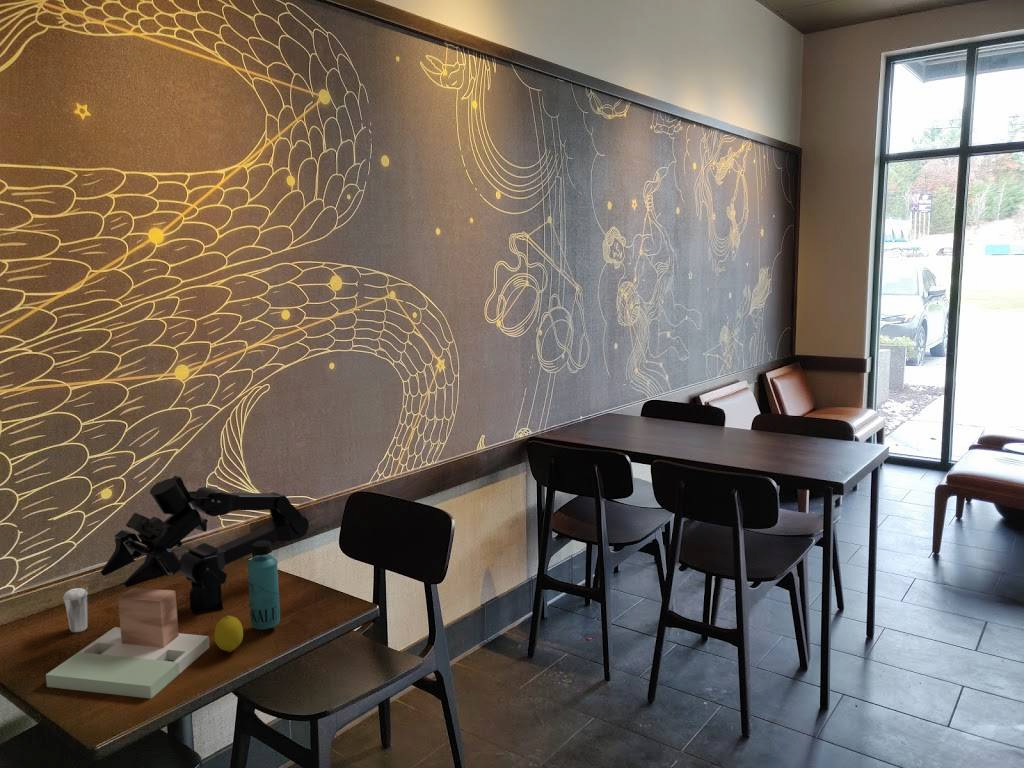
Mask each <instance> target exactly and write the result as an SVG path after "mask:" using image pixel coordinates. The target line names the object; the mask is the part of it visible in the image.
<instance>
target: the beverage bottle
mask: <svg viewBox="0 0 1024 768" xmlns="http://www.w3.org/2000/svg"><path fill="white" fill-rule="evenodd" d="M272 552H273V547H272V544H271V542H270V541H257V542H255V543H253V544H252V553H251V554H252V555H253V557H252V558H251V559H250V560H249V561H248V562H247V563H246V564H247V586H248V597H249V598H248V602H249V606H248V607H249V611H248V612H249V619H250V620H249V621H250V624H251V627H252V628H253V629H256V630H266V629H271V628H273V627H276V626H278V625H279V623H280V620H281V615H282V614H281V609H280V608H281V603H280V599H281V597H280V592H279V590H280V589H279V573H278V572H279V570H278V560H277V558H276V557H275V556H273V555H271V553H272Z"/></svg>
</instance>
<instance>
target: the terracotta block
mask: <svg viewBox="0 0 1024 768" xmlns="http://www.w3.org/2000/svg"><path fill="white" fill-rule="evenodd" d="M117 604H118V616H119V628H121V640H122V644H131V645H141V646H151V647H161V648H164V647H165V646H167V645H168V644H169V643H170V642H172V641H173V640H174V639H175V638H177V637H178V636H179V633H180V632H179V622H178V621H179V620H178V608H177V607H178V606H177V595H176V590H171V589H160V588H159V589H158V588H146V587H138V586H137V587H136V586H135V587H132V588H131V589H129V590H128V591H126V592H124V593H123V594H121V595H120V596H118V597H117Z"/></svg>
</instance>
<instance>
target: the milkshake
mask: <svg viewBox="0 0 1024 768" xmlns="http://www.w3.org/2000/svg"><path fill="white" fill-rule="evenodd" d="M88 588H89V586H87V587H86V588H85V589H84V588H82V587H79V588H78V587H76V588H70V589H69V590H67V591H65V593H64V595H63V602H64V606H65V610H66V615H67V620H68V626H69V630H70V632H71V633H80V632H83V631H85V630H86V629H87V628H88Z"/></svg>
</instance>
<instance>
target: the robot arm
mask: <svg viewBox="0 0 1024 768" xmlns="http://www.w3.org/2000/svg"><path fill="white" fill-rule="evenodd" d="M149 494H150V496H151V497H152V498H153V500H154V501H155V503H156V504H157V506H158V508H159V509H160V510H161V512H162V513H163V514H164V515H170V516H168V518H166V519H165V520H162V519H161V518H158V517H156V516H152V517H150V518H149V517H146V516H145V515H142V514H140V513H137V512H134V513H133V514H132V515H131V517H130V518H129V520H128V521H127V523H125V526H126V527H127V528H129V529H130V528H131V529H132V530H133V531H135V532H138V534H136V533H134V532H133V531H129V530H126V529H125V530H124V529H123V530H122V529H121V530H119V532H117V533H116V534H115V535H113V536H114V543H115V547H114V548H115V549H114V551H113V554H112V555H111V556H110V558H109V559H108V561H107V562H106V564H105V565H104V566H103V568H102V569H101V570H100V574H101V575H102V576H104V577H105V576H107V575H109V574H112V573H113V572H116V571H118V570H120V569H121V568H124V567H126V566H129V564H131V563H133V562H135V561H136V559H137V558H140V557H141V556H143V555H144V556H145V559H144V563H142V564H141V566H140V567H138V568H137V569H136V570H135V571H134V572H133V573H132V574H131V575H130V576H129V577H128V578H127V579H126V580H125V582H124V583H123V585H124V587H126V588H129V587H132V586H135V585H138V584H141V583H144V582H147V581H152V580H154V579H159V578H162V577H168V576H169V575H171V576H174V575H175V574H177V573H178V572H179V573H180V574H181V575H183V576H184V577H185V578H186V581H190V583H191V587H189V588H188V593H189V595H188V596H189V607H190V608H189V609H190V610H192V614H193V615H198V614H203V613H209V612H215V611H219V610H220V611H221V610H224V603H223V596H222V585H223V584H225V583H226V580H227V573H226V572H224V571H223V569H224V568H225V566H226V565H228V564H230V563H234V562H235V561H237V560H240V559H242V558H244V557H247V556H249V555H251V554H252V544H253V543H255V542H257V541H270V542H271V545H272V544H275V543H276V544H277V543H279V542H280V543H282V542H291V541H296V540H300V539H302V538H304V537H305V536H306V535H307V533H308V530H309V526H310V525H309V524H310V522H309V520H308V518H307V517H305V516H303V515H302V513H301V512H300V511H299V510H298V509H297V508H296V507H295V506H294V505H293V504H292V502H290V500H289V498H287V496H286V495H284V494H281V493H277V492H270V493H269V492H268V493H267V492H266V493H265V492H229V491H224V490H221V489H216V488H212V487H207V486H203V487H201V486H200V488H198V489H196V490H195V491H194V490H193V491H189V490H188V489H187V487H186V485H185V483H184V481H183V479H182V477H180V476H178V475H174V476H173V477H171V478H166V479H165V480H161V481H160V482H159V481H158V482H157V483H155V484H154V485H153V486H152V487H151V488H150V491H149ZM191 505H192V506H191ZM235 511H269V514H270V517H271V518H272V519H271V520H270V521H269V523H268V524H267V525H266V526H263V527H261V528H259V529H256V530H254V531H252V532H250V533H246V534H244V535H242V536H240V537H238V538H236V539H233V540H231V541H229V542H226V543H223V544H220V545H218V546H216V547H215V546H213V545H210V544H208V543H207V542H204V543H201V544H199V545H197V546H195V547H192V548H187V550H188V551H187V552H185V553H183V554H182V555H181V557H180V559H179V558H178V557H177V556H178V555H176V553H175V551H174V550H173V548H174V547H177V548H180V547H182V546H183V542H182V540H184V539H185V538H186V537H187V536H189V535H190V534H191V533H192V532H194V530H198V531H201V532H207V530H208V525H207V524H208V519H206V518H204V517H202V516H201V514H200V513H202V514H205V515H208V516H209V517H219V516H223V515H228V514H230V513H232V512H235ZM199 512H200V513H199Z"/></svg>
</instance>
